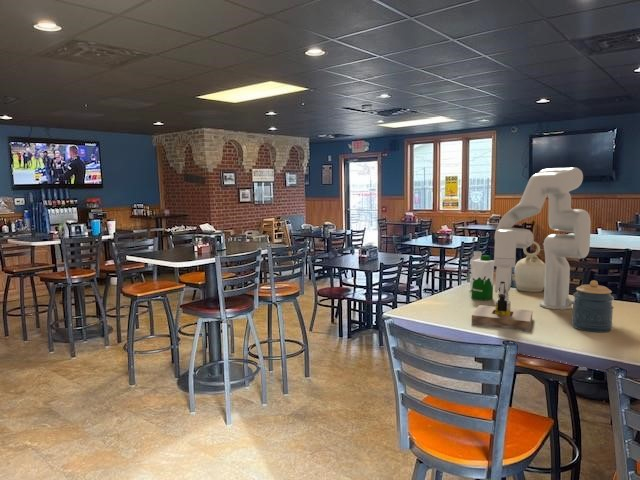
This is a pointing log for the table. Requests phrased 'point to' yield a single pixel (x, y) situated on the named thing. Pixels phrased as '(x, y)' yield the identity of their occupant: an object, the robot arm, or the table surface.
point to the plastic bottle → (476, 256)
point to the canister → (592, 308)
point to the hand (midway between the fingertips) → (502, 308)
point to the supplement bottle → (507, 307)
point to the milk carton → (482, 278)
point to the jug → (530, 272)
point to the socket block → (502, 318)
